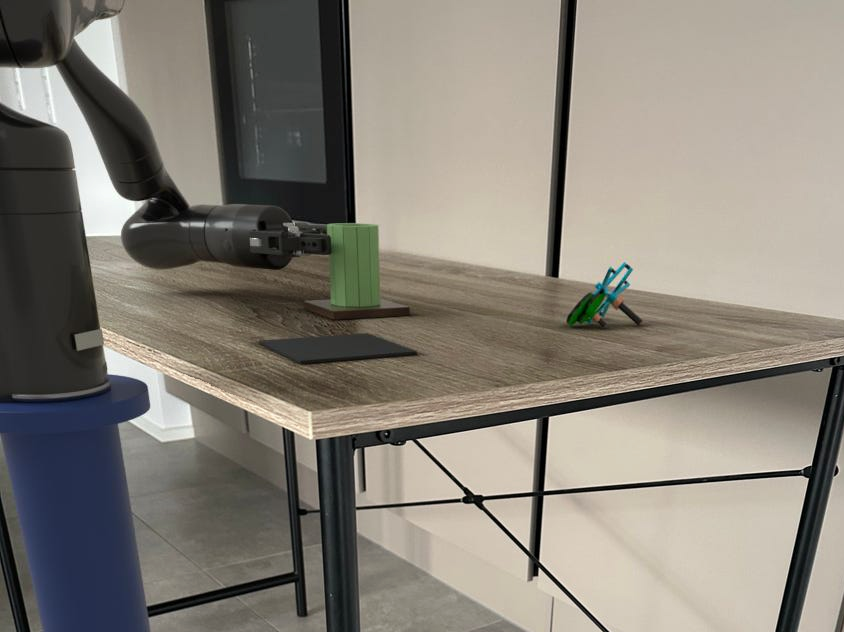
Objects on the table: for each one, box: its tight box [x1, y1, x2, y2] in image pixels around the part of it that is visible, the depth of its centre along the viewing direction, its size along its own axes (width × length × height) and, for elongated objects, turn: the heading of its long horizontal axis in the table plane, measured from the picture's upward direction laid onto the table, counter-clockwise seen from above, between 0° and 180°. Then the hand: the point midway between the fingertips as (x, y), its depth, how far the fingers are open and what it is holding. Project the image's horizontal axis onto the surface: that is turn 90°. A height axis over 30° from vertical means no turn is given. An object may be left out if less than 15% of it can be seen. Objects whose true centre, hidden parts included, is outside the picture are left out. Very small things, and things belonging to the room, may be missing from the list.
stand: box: [303, 298, 411, 321], centre depth 115 cm, size 10×10×9 cm
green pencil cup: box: [327, 222, 382, 307], centre depth 114 cm, size 6×6×9 cm
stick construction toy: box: [565, 261, 643, 328], centre depth 110 cm, size 12×7×8 cm
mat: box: [258, 332, 418, 365], centre depth 94 cm, size 12×12×1 cm
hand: (351, 243), depth 113 cm, fingers open, 8 cm apart
